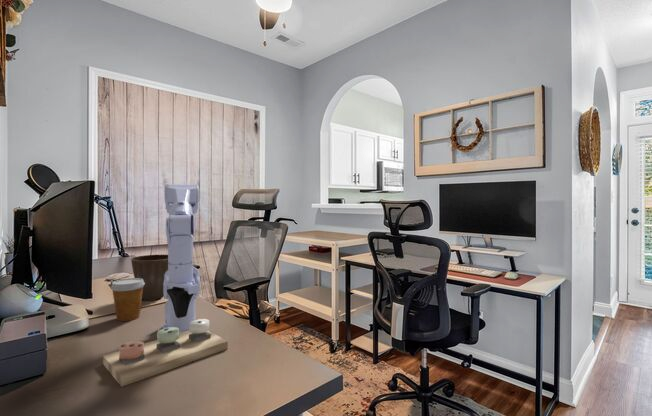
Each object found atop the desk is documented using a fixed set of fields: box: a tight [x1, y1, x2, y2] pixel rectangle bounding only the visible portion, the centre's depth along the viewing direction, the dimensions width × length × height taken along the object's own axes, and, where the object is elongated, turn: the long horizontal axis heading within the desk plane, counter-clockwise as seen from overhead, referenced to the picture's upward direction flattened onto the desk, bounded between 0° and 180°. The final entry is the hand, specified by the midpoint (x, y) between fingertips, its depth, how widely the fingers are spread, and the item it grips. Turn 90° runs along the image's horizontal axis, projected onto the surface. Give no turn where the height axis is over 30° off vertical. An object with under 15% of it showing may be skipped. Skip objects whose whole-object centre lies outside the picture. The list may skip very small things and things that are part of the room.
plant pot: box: [130, 254, 168, 301], centre depth 130 cm, size 15×15×16 cm
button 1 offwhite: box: [190, 318, 210, 333], centre depth 87 cm, size 5×5×2 cm
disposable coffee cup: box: [110, 277, 145, 322], centre depth 107 cm, size 10×10×12 cm
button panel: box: [102, 330, 229, 388], centre depth 81 cm, size 14×24×3 cm, turn 137°
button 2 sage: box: [156, 327, 179, 343], centre depth 81 cm, size 5×5×2 cm
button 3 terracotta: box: [118, 340, 145, 360], centre depth 75 cm, size 5×5×2 cm
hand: (181, 316), depth 83 cm, fingers closed
